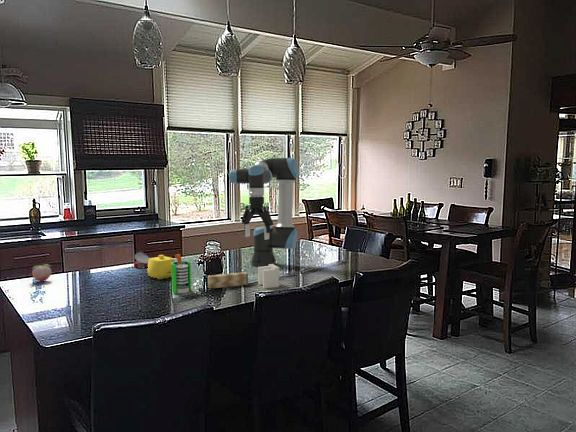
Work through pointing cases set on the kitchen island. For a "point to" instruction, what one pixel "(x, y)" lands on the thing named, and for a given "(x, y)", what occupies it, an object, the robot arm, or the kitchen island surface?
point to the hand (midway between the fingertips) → (257, 238)
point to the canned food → (141, 260)
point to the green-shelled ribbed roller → (181, 275)
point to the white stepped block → (268, 276)
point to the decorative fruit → (41, 272)
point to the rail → (227, 280)
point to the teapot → (160, 267)
